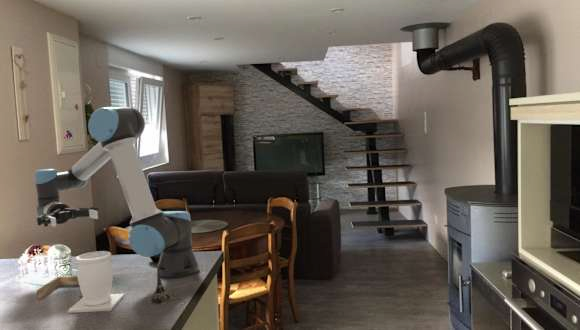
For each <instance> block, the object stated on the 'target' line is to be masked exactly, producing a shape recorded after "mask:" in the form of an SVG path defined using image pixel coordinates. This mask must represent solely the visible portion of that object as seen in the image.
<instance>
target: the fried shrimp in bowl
mask: <svg viewBox="0 0 580 330" xmlns="http://www.w3.org/2000/svg"><path fill="white" fill-rule="evenodd" d="M160 256H161V253H160V254H158V255H154V256H151V257H149V259H150V260H151V261H152V262H153V263H156V264H159V260H160Z"/></svg>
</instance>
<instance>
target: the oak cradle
mask: <svg viewBox="0 0 580 330" xmlns="http://www.w3.org/2000/svg"><path fill="white" fill-rule="evenodd" d="M74 285H76V286H77V285H78V286H80V285H79V282H78V277H77V275H66V276H65V275H63V276H61V275H60V276H56V277H55V278H53V279H52V280H50V281H49V282H47V283H45V284H44V285H42V287H40V288H39V289H37V290H36V296H37V300H42V299H44V297H46V296H47V295H49V294H50V293H52V292H53V291H54V290H56V289H57V288H59V287H60V286H74ZM78 290H79V291H78V292H79V298H83V297H84V296H83V295H82V293H81V290H80V287H79V288H78Z"/></svg>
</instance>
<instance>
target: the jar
mask: <svg viewBox="0 0 580 330" xmlns="http://www.w3.org/2000/svg"><path fill="white" fill-rule="evenodd" d="M111 257H112V253H111V252H110V251H107V250H99V251H97V250H95V251H90V252H86V253H82V254H80V255H77V256H76V257H75V261H76V262H77V263H78V264H77V270H76V271H77V273H76V274H77V275H76V276H77V277H78V282H79V285H78V286H79V288H80V290H81V293H82V295H83V296H84V298H85V299H84V304H85V305H89V306H93V305H100V304H104V303H106V302H108V301H110V300H111V298H112V297H111V295H110V294H111V292H112V288H113V279H114V278H113V277H114V270H113V269H114V268H113V264H112V261H111Z"/></svg>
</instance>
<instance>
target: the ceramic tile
mask: <svg viewBox="0 0 580 330" xmlns="http://www.w3.org/2000/svg"><path fill="white" fill-rule="evenodd" d="M110 295H111V297H112V298H111V300H110V301H108V302H106V303H104V304H100V305H93V306H89V305H85V304H84V299H85V298H84V297H80V299H79V300H78V301H76V303H74V304H73V305H72V306H71V307H70V308H69V309H68V310H67V313H68V314H70V313H71V314H72V313H73V314H74V313H94V312H111V311H112V310H113V309H114V308H115V307H116V306H117V305H118V304H119V302H121V300H123V298H124V297H125V293H110Z"/></svg>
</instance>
